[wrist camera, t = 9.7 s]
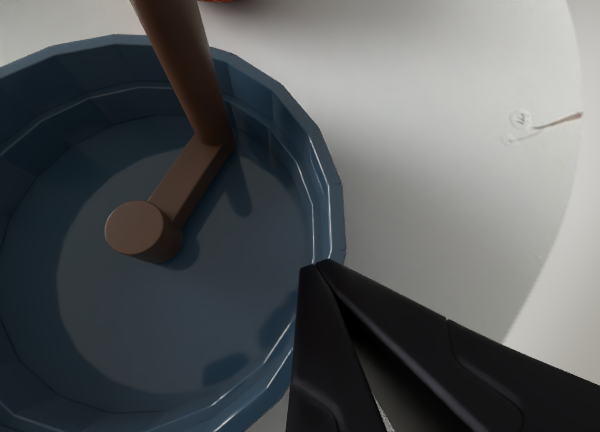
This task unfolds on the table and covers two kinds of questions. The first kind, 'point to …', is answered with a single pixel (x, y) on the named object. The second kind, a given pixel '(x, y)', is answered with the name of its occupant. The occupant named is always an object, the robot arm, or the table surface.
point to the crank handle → (201, 148)
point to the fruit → (216, 0)
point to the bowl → (139, 274)
